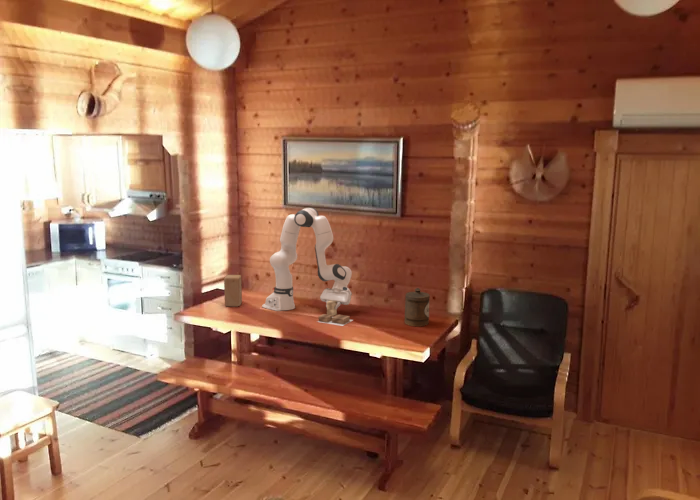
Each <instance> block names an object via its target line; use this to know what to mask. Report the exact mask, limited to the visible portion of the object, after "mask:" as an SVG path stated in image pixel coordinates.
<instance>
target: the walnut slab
mask: <svg viewBox="0 0 700 500" xmlns="http://www.w3.org/2000/svg"><path fill="white" fill-rule="evenodd" d="M350 317H351V316H350V315H345V314H344V315H343V314H338V313H337V315H335V316H332V323H338V324H345V323H347V322H349V321H350V320H351V318H350ZM349 323H350V322H349ZM347 324H348V323H347ZM345 325H346V324H345Z"/></svg>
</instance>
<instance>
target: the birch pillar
mask: <svg viewBox="0 0 700 500" xmlns="http://www.w3.org/2000/svg"><path fill="white" fill-rule="evenodd" d="M337 304H338V303H337V301H331V300H330V301H328V302H327V304H326V305H327V308H326V314H327V315H332V317H334V316H336V315H338V312H337V310H338V308H337V309H335V308H334V307H335V306H336V305H337Z"/></svg>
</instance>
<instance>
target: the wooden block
mask: <svg viewBox="0 0 700 500" xmlns="http://www.w3.org/2000/svg"><path fill="white" fill-rule="evenodd" d="M242 282H243V281H242V274H227V275H226V276H225V277H224V278H223V286H224V287H223V289H224V291H223V292H224V306H225V307H230V308H231V307H238V306H239V307H240V306H241V305H242V303H243V292H242V291H243V290H242V287H243V286H242Z"/></svg>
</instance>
